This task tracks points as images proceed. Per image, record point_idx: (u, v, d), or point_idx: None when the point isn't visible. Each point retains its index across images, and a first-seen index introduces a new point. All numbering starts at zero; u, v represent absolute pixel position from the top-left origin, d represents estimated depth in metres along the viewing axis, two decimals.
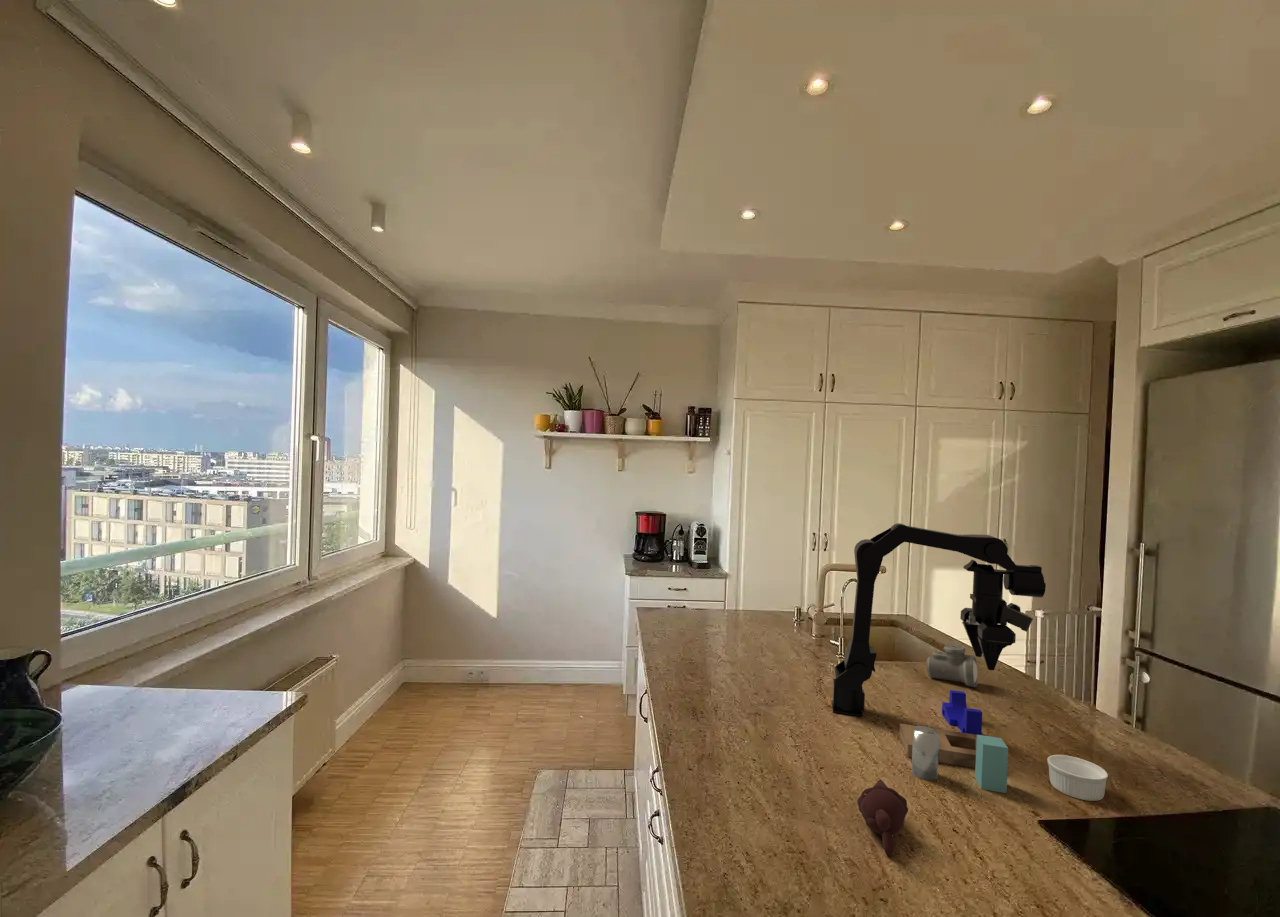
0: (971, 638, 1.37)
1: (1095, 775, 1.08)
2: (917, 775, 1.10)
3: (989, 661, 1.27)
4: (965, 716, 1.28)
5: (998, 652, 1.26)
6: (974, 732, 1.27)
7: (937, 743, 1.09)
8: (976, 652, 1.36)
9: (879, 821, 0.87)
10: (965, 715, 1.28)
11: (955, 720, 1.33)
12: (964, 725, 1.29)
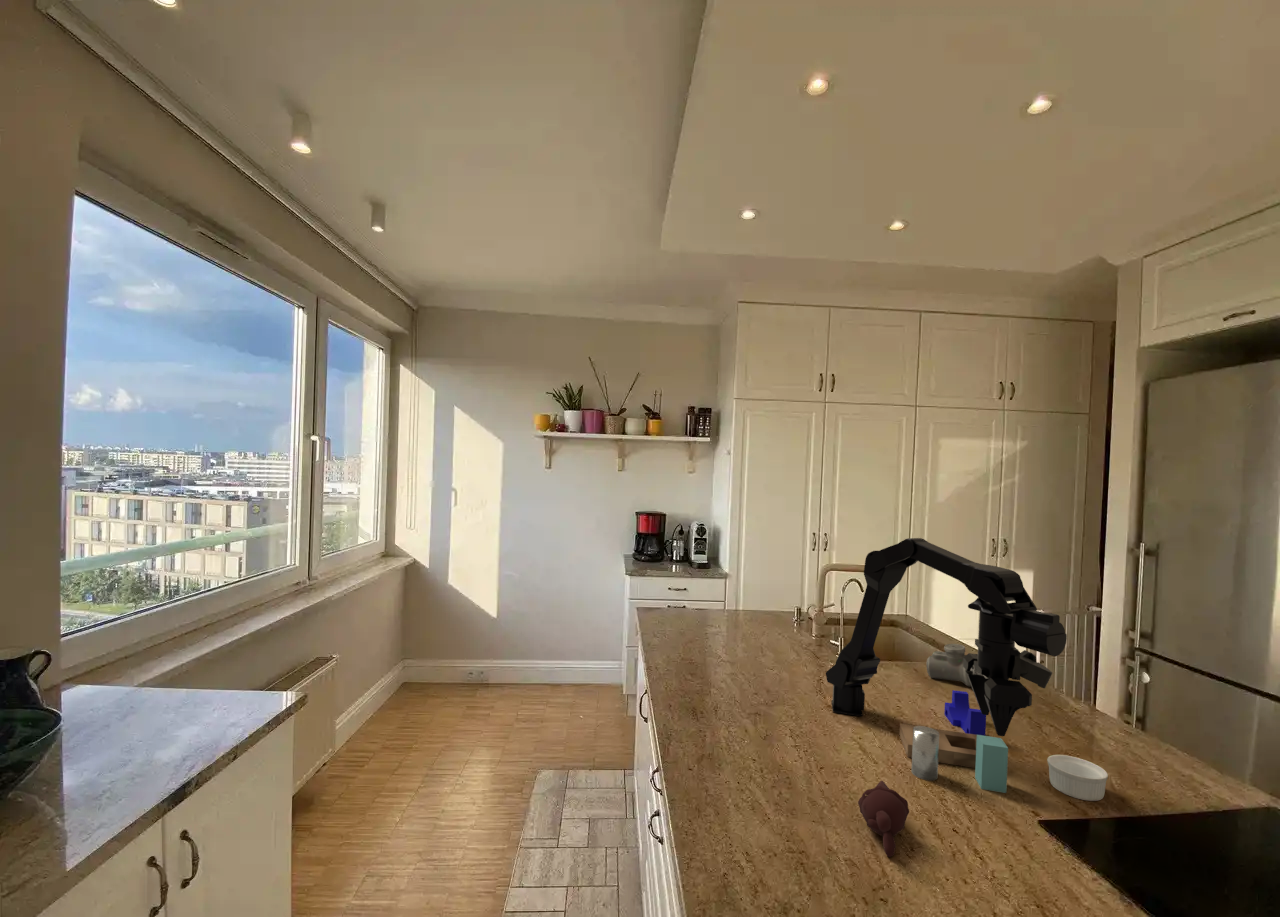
0: (976, 692, 1.13)
1: (1095, 775, 1.08)
2: (917, 775, 1.10)
3: (999, 725, 1.03)
4: (969, 717, 1.28)
5: (1010, 715, 1.02)
6: (978, 733, 1.27)
7: (937, 743, 1.09)
8: (982, 709, 1.13)
9: (879, 822, 0.87)
10: (969, 716, 1.28)
11: (958, 720, 1.33)
12: (968, 725, 1.28)
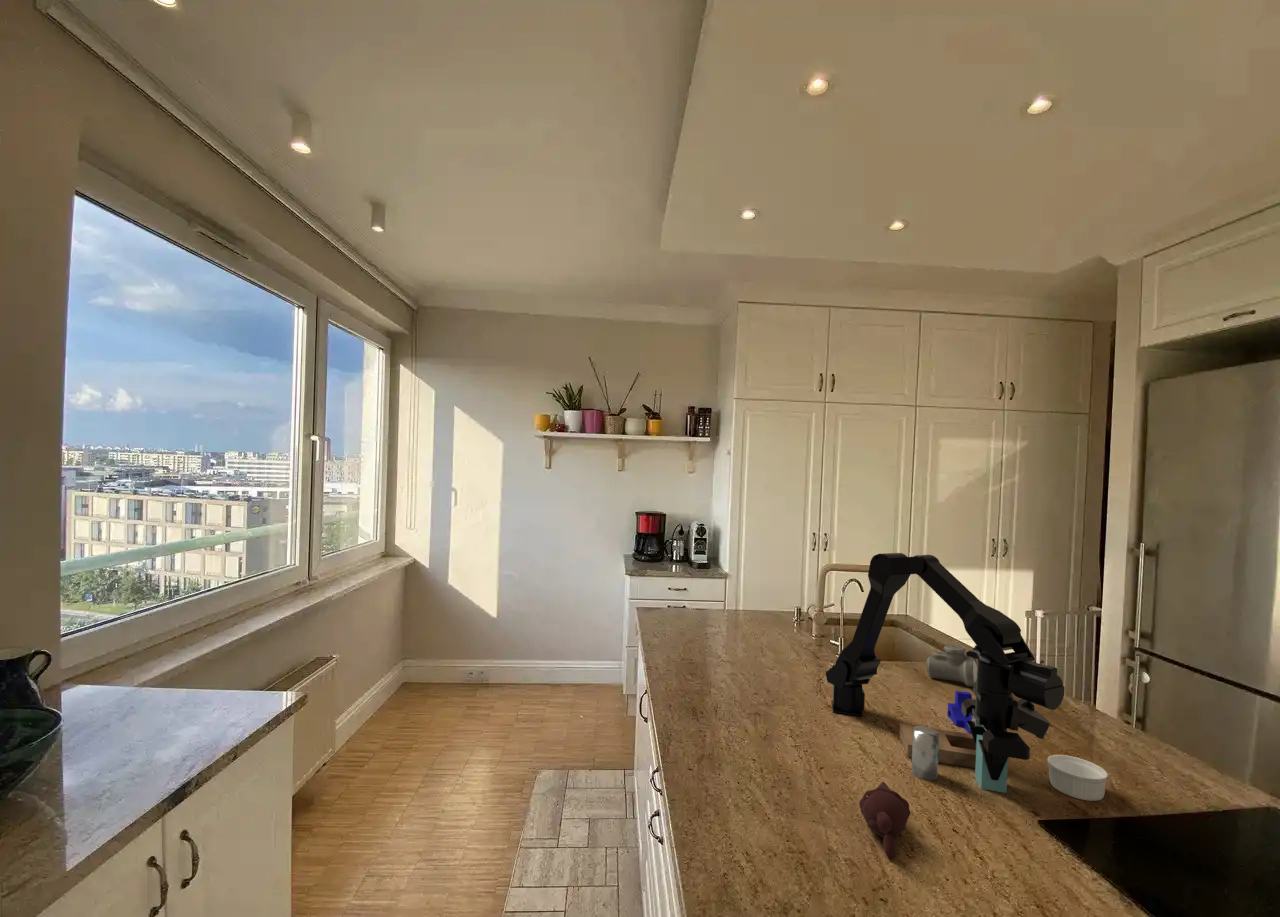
0: None
1: (1095, 775, 1.08)
2: (917, 775, 1.10)
3: (992, 770, 1.06)
4: None
5: (1003, 760, 1.05)
6: None
7: (937, 743, 1.09)
8: None
9: (880, 823, 0.86)
10: None
11: (961, 721, 1.33)
12: None
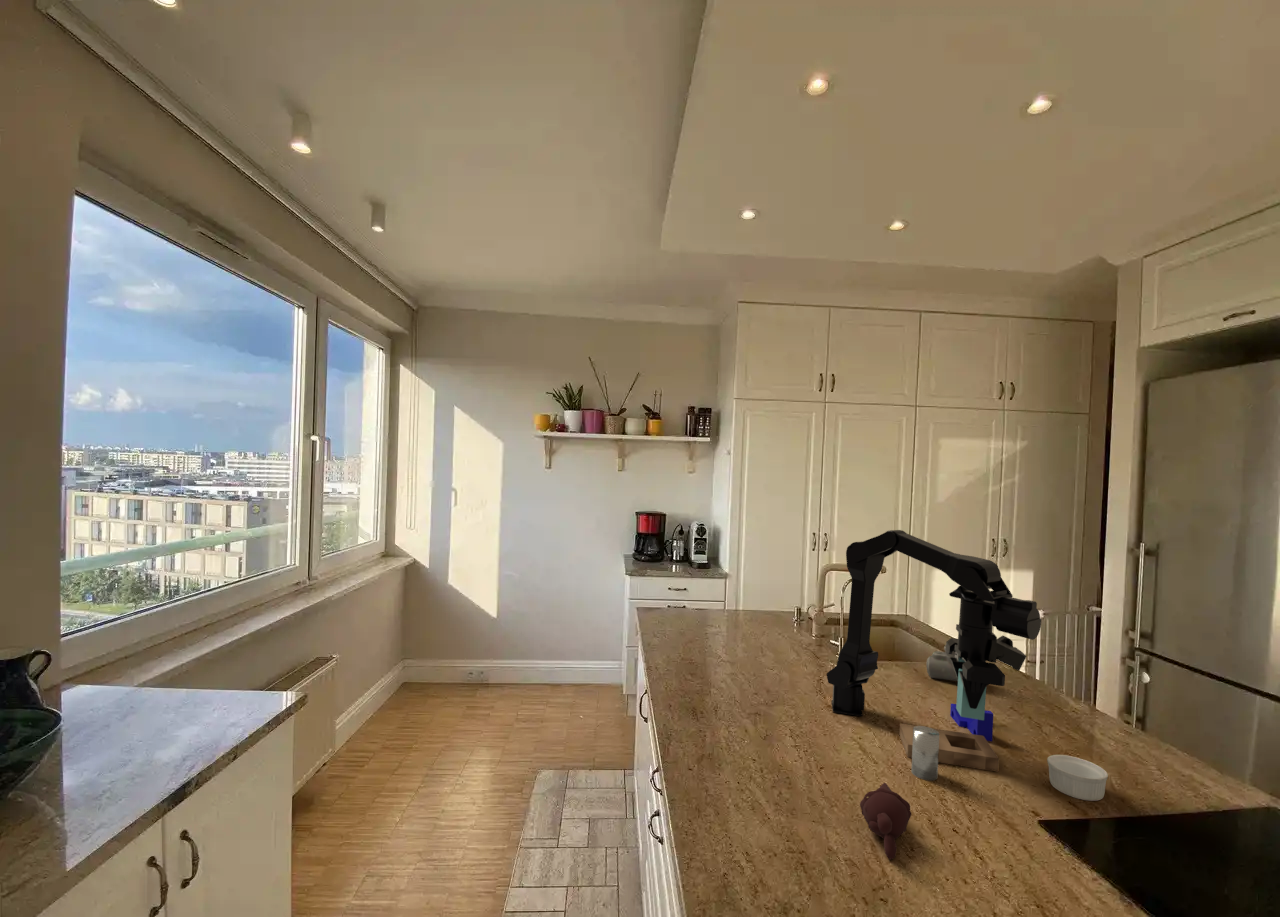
0: None
1: (1095, 775, 1.08)
2: (917, 775, 1.10)
3: (971, 699, 1.14)
4: None
5: (981, 689, 1.13)
6: (985, 734, 1.26)
7: (937, 743, 1.09)
8: None
9: (880, 824, 0.86)
10: None
11: (964, 721, 1.33)
12: (975, 726, 1.28)
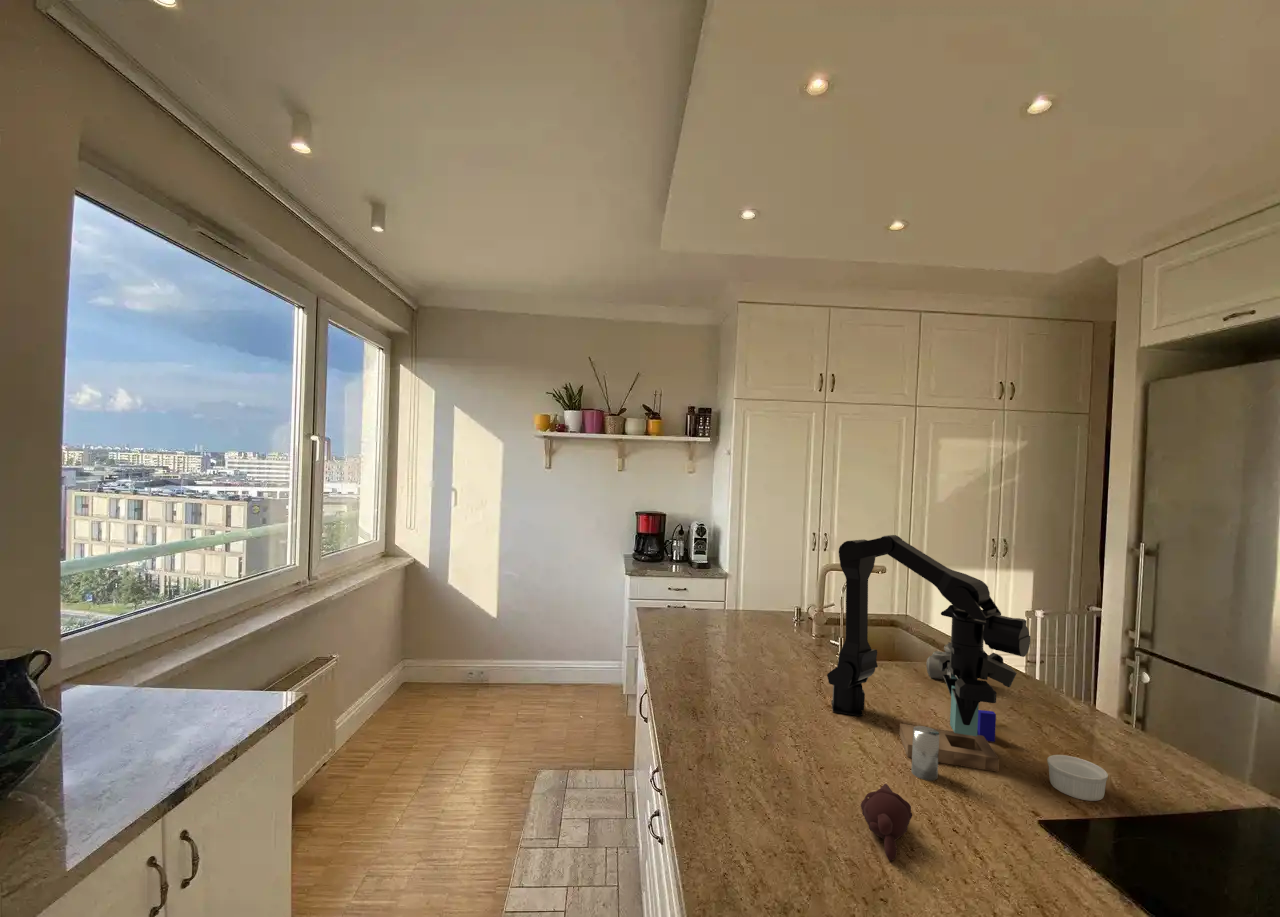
0: None
1: (1095, 775, 1.08)
2: (917, 775, 1.10)
3: (964, 715, 1.17)
4: (978, 718, 1.27)
5: (974, 706, 1.16)
6: (988, 735, 1.26)
7: (937, 743, 1.09)
8: None
9: (880, 825, 0.86)
10: (979, 718, 1.27)
11: None
12: None
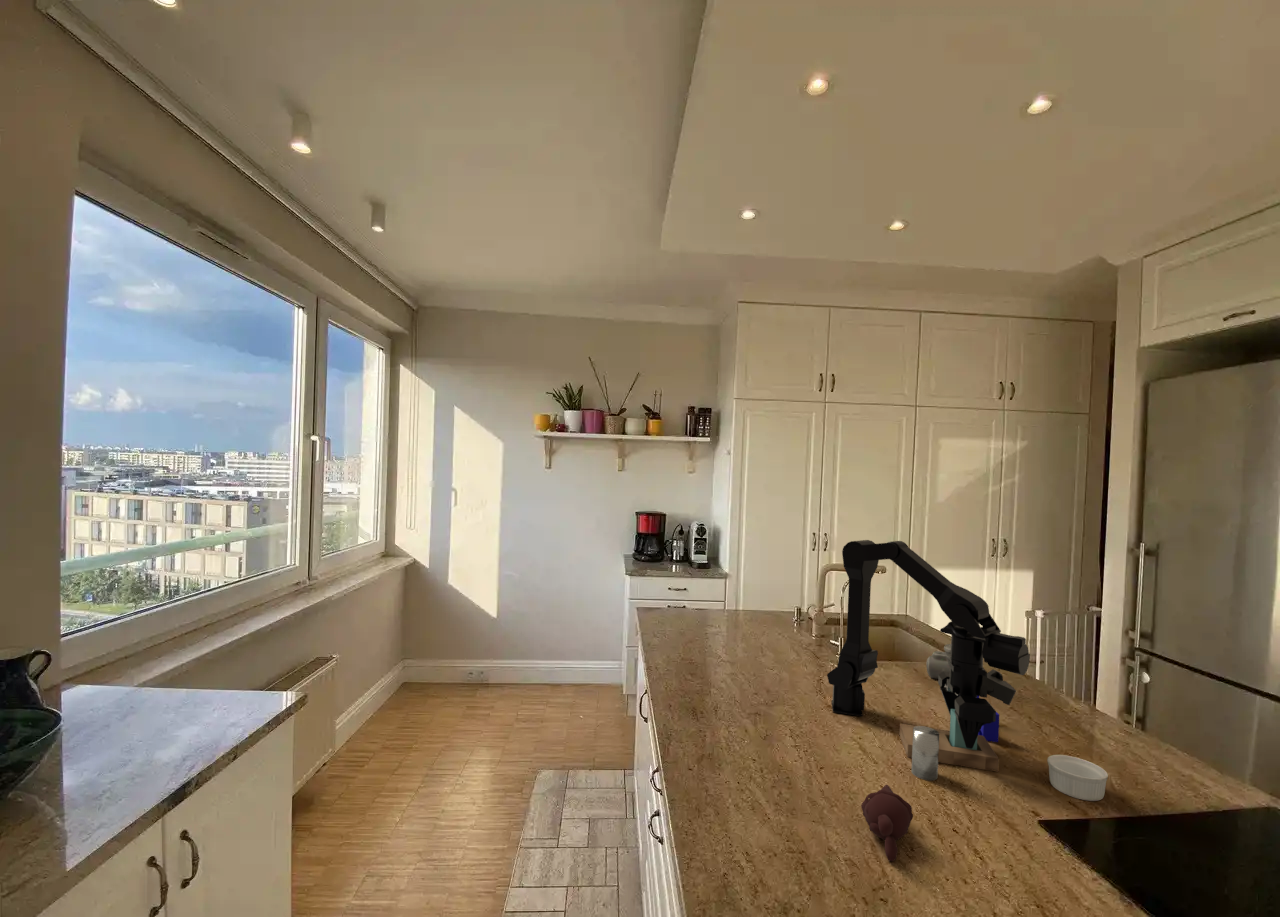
0: (949, 707, 1.24)
1: (1095, 775, 1.08)
2: (917, 775, 1.10)
3: (967, 738, 1.14)
4: None
5: (977, 729, 1.13)
6: (991, 735, 1.26)
7: (937, 743, 1.09)
8: None
9: (881, 826, 0.86)
10: None
11: None
12: None
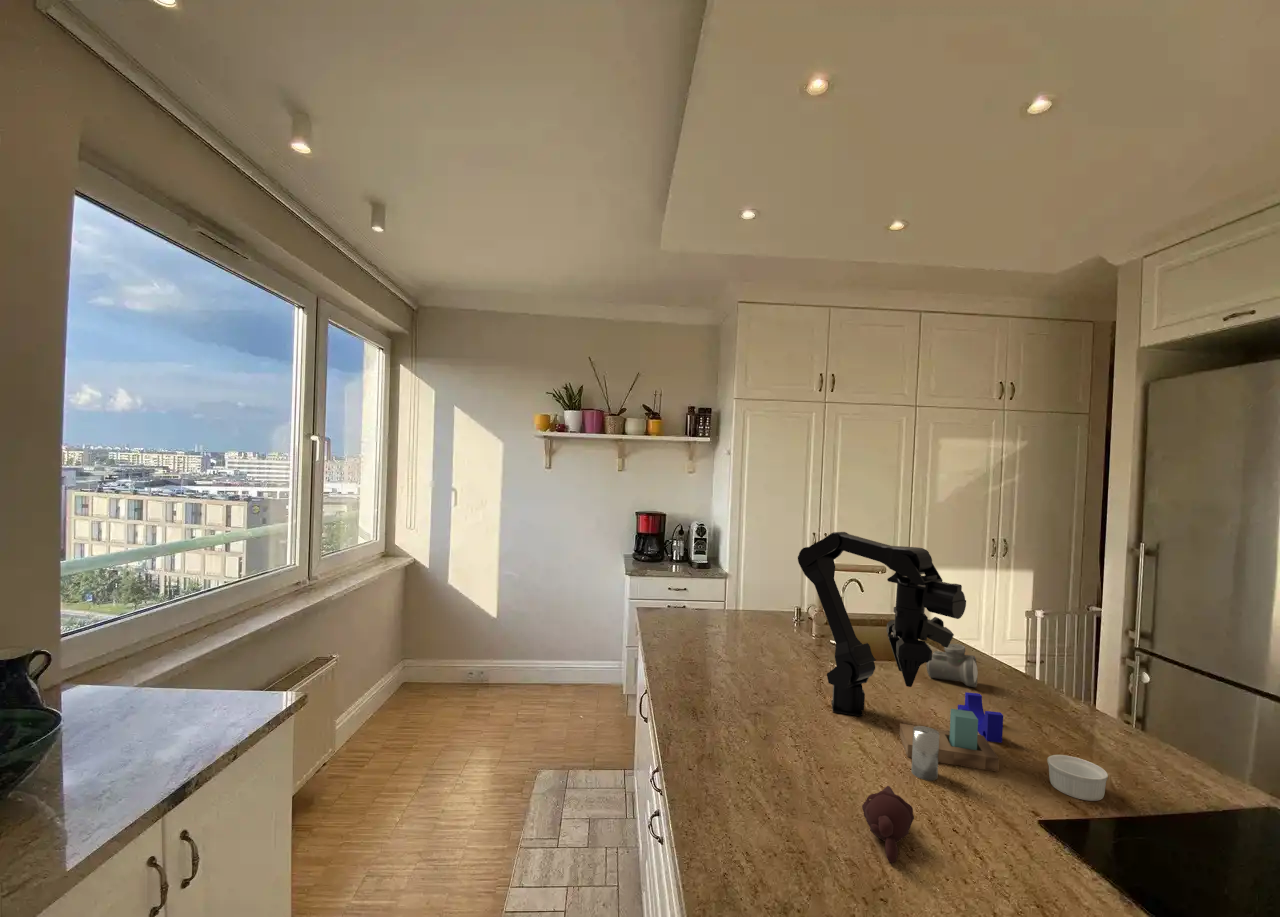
0: (895, 652, 1.33)
1: (1095, 775, 1.08)
2: (917, 775, 1.10)
3: (907, 677, 1.23)
4: (986, 719, 1.27)
5: (916, 669, 1.22)
6: (995, 736, 1.26)
7: (937, 743, 1.09)
8: (899, 666, 1.33)
9: (881, 827, 0.86)
10: (986, 719, 1.27)
11: None
12: (984, 728, 1.27)
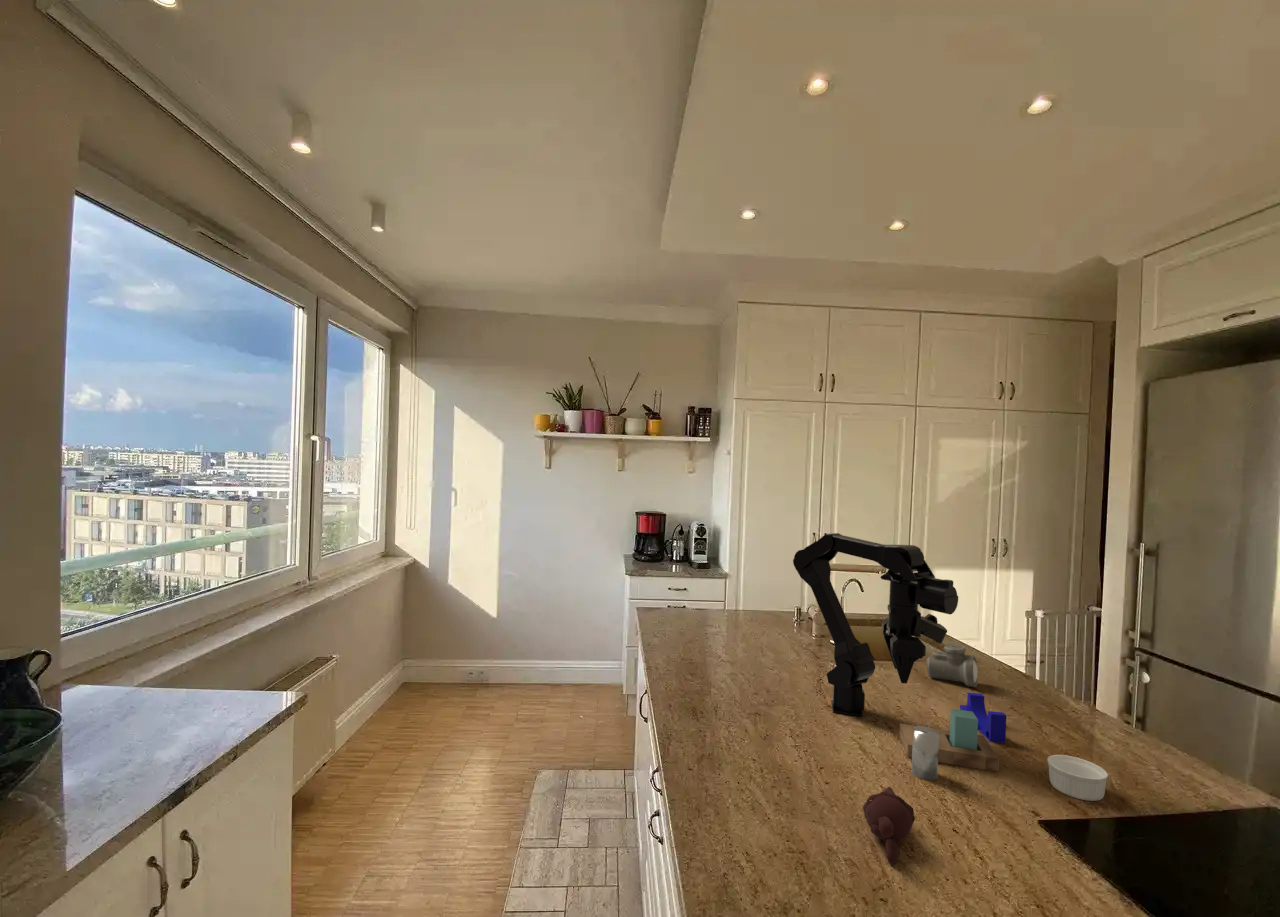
0: (890, 650, 1.34)
1: (1095, 775, 1.08)
2: (917, 775, 1.10)
3: (902, 674, 1.24)
4: (989, 719, 1.27)
5: (910, 665, 1.23)
6: (999, 736, 1.26)
7: (937, 743, 1.09)
8: (895, 664, 1.33)
9: (881, 828, 0.85)
10: (989, 719, 1.27)
11: None
12: (987, 728, 1.27)
